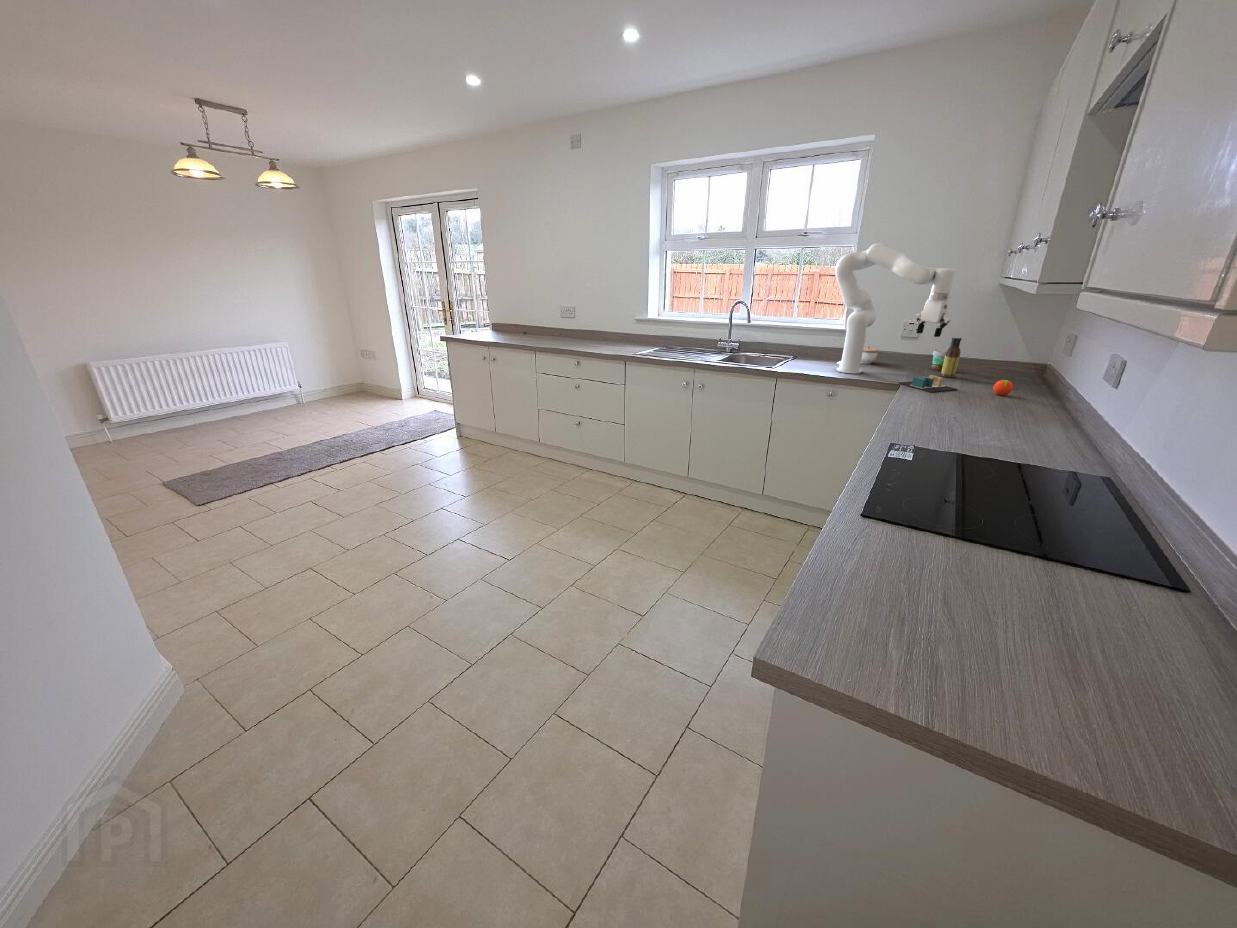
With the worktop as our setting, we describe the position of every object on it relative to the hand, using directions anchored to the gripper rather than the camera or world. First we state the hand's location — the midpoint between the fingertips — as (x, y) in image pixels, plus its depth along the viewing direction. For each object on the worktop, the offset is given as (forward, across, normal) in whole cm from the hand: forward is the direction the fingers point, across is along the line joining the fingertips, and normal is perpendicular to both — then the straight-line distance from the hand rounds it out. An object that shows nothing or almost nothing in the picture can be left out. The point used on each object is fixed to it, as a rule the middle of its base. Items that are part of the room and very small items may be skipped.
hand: (927, 334), depth 229 cm
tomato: (+22, -31, -16) cm, 41 cm away
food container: (+23, +17, -35) cm, 45 cm away
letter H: (+22, -9, +6) cm, 25 cm away
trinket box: (+24, +45, -12) cm, 52 cm away
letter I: (+22, -9, -2) cm, 24 cm away
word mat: (+23, -9, +2) cm, 24 cm away
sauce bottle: (+23, +4, -26) cm, 35 cm away
